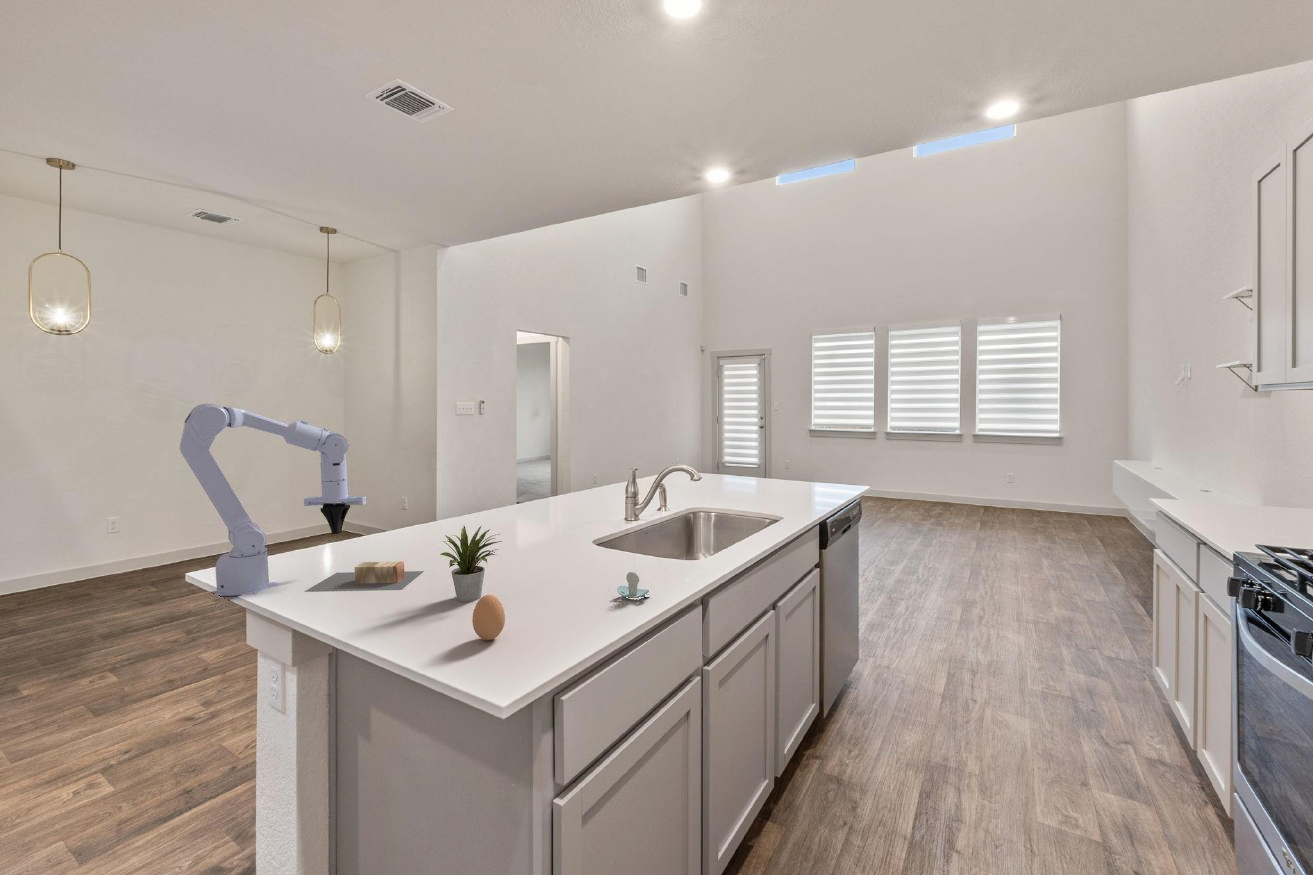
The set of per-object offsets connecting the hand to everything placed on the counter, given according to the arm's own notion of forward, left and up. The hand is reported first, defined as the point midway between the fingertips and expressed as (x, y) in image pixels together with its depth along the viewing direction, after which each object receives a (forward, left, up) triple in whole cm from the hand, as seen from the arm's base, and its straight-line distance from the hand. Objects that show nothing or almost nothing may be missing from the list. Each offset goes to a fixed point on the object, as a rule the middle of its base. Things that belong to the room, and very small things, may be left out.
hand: (336, 533), depth 143 cm
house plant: (+39, -21, -11) cm, 46 cm away
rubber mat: (+11, -8, -10) cm, 17 cm away
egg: (+49, -42, -11) cm, 65 cm away
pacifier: (+76, -21, -11) cm, 79 cm away
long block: (+9, -8, -8) cm, 14 cm away
